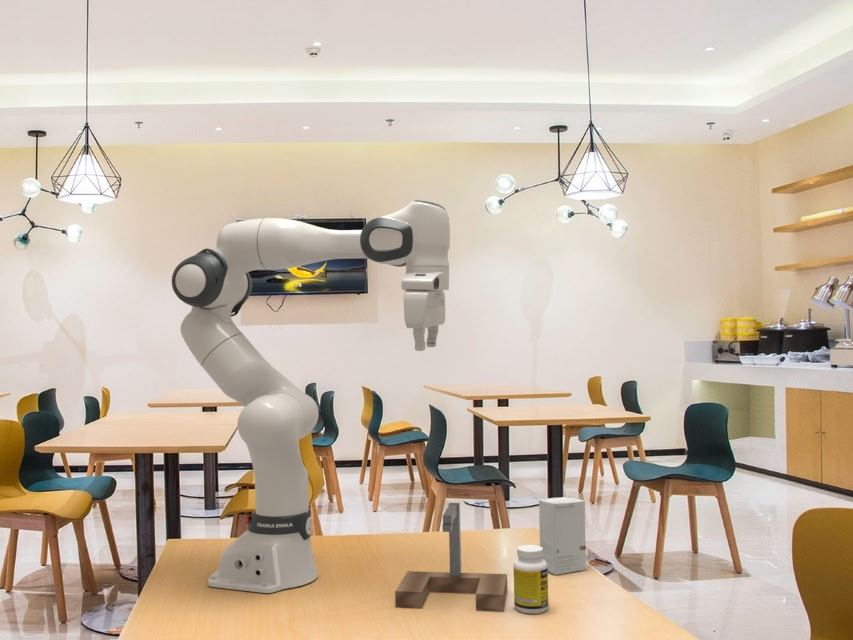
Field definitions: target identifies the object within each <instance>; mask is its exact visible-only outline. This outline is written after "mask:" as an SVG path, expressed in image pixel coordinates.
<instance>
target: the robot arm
mask: <svg viewBox="0 0 853 640" xmlns="http://www.w3.org/2000/svg"><path fill="white" fill-rule="evenodd" d="M450 246H451V230H450V218H449V214H448V211H447V209H446V208H445V207H443V206H442V205H440V204H439V203H435V202H431V201H426V200H418V199H417V200H413V201H411V202H409V203H408V204H407V205H406V206H405V207H402V208H401V209H399V210H397V211H395V212H392V213H389V214H386V215H383V216H379V217H376V218H372V219H371V220H369V221H368V222H367V223H366V224H365V225H364V226H363V228H362V229H351V230H349V229H348V230H347V229H346V230H345V229H343V230H342V229H341V230H339V229H330V228H329V229H328V228H325V227H320V226H317V225H314V224H310V223H307V222H303V221H299V220H295V219H289V218H283V217H265V218H264V217H262V218H260V217H259V218H252V219H244V220H240V221H235V222H231V223H228V224H226V225H224V226H223V227H222V228H221V229H220V231H219V233H218V235H217V238H216V246H215V248H214V249H211V248H207V247H206V248H203V249H202V250H200V251H198V252H197V253H196V254H194V255H192V256H189V257H187V258H186V259H184V260H182V261H181V262H179V264H178V265H176V267H175V269H174V270H173V273H172V276H171V288H172V290H173V293H174V294H175V295H176V297H178V299H179V300H180V301H182V302H183V303H184V304H187V305H188V306H190V307H191V311H190V312H188V313H187V315H186V316H185V317H184V318H183V320H182V321H181V325H180V334H181V337H182V338H183V340H184V343H185V344H186V345H187V347H188V349H189V351H190V352H191V354H192V356H193V357H194V358H195V360H196V361H197V362H198V364H199V365H200V366H201V368H202V369H203V370H204V371H205V373H206V374H208V376H209V377H210V378H211V380H213V382H214V383H215V384H216V385H217V386H218V388H219V389H220V390H221V391H222V393H223V394H225V396H227V397H228V398H231V399H232V400H234V401H236V402H237V403H238V404H240V405H242V406H243V409H242V410H241V411H240V413H239V415H238V417H237V418H238V419H237V430H238V431H237V432H238V433H239V436H240V438H241V440H242V441H243V442H244V443H245V444H246V447H247V449H248V453H249V457H250V461H251V465H252V469H253V476H254V499H255V501H254V502H255V506H254V507H255V509H254V510H252V512H251V513H250V514H248V515H247V517H245V518H244V519H243V520H244V525H246V524H247V530H245V532H243V533H242V534H241V535H240V536H238V537H237V538H236V539H235V540H234V541H233V542H232V543H230V544H229V545H228V546H227V547H226V548H225V549H224V550H223V552H222V553H221V557H220V559H219V567H218V569H217V570H215V571H214V572H213V573H211V575H210V576H208V579H207V585H208V587H210V588H219V589H227V590H237V591H246V592H251V593H261V594H262V593H263V594H271V593H277V592H279V591H281V590H285V589H290V588H296V587H300V586H304V585H307V584H309V583H312V582H314V581H315V580H316V579H317V578H318V577H319V573H318V571H317V570H318V569H317V567H316V564H315V560H314V554H313V547H312V541H311V536H312V530H313V529H312V528H313V526H312V525H313V522H312V521H313V519H312V512H311V508H310V507H309V506H310V505H309V503H310V501H309V499H310V497H309V496H310V495H309V472H308V469H307V468H306V466H305V465H304V462H303V459H302V455H301V451H300V450H301V449H300V444H299V443H300V442H299V440H302V439H304V438H305V437H307V436H308V435H309V434H310V433H311V432H312V430H314V429H315V426H317V422H318V421H319V416H320V415H319V412H320V411H319V408H318V404H317V403H316V401H315V400H314V398H313V397H311V396H310V395H309V394H306V393H305V392H303V390H301V389H299V387H297V386H296V385H295V384H294V383H293V382H291V381H290V380H289V379H288V378H287V377H286V376H284V375H283V374H282V373H281V372H280V371H279V370H277V369H276V368H275V367H274V366H273V365H272V364H270V363H269V362H268V361H267V360H266V359H265V357H264V356H263V355H262V354H261V353H260V352H259V350H257V348H256V347H255V346H254V344H252V343H251V341H250V340H249V339H248V338H247V337H246V336H245V335H244V333H243V332H242V331H241V329H239V328H238V326H237V325H236V324H235V322H234V321H233V318H232V317H234V316H237V315H238V313H239V312H240V310H241V309H242V307H243V305H244V304H245V303H246V302H247V300H248V299H249V297H250V295H251V293H252V289H253V280H252V277H251V274H250V273H249V272H253V271H276V270H277V271H278V270H285V269H292V268H297V267H301V266H302V267H303V266H306V265H311V264H316V263H320V262H325V261H330V260H331V261H332V260H344V259H345V260H346V259H347V260H349V259H350V260H351V259H352V260H354V259H359V260H360V259H361V260H363V259H365V260H366V259H368V260H371V261H372V262H375V263H377V264H380V265H381V264H382V265H390V266H393V267H398V268H400V267H405V274H404V276H403V277H402V279H401V283H400V284H401V285H400V287H401V289H402V290H403V291H404V293H403V314H404V323H405V327H406V329H412V334H413V339H414V349H415V351H417V352H418V351H419V352H424V351H426V347H428V348H435V347H436V346H437V338H438V334H439V326H441V325H444V324H445V322H446V295H445V291H449V289H450V262H449V258H448V255H449V254H448V253H449V249H450ZM426 328H427V329H426ZM426 330H427V338H425V334H426ZM425 339H426V341H425Z"/></svg>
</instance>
